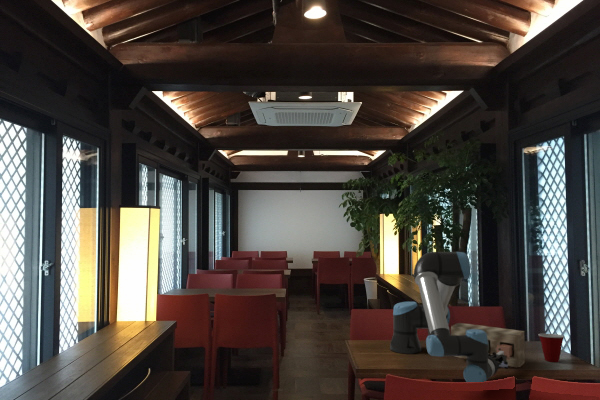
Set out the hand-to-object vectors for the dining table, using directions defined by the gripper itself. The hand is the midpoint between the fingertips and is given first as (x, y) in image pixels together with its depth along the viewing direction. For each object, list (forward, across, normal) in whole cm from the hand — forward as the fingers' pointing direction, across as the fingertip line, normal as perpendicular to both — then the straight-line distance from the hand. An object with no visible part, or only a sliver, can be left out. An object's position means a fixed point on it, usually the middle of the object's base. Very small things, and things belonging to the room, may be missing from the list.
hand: (502, 354), depth 200 cm
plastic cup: (+30, +14, -7) cm, 34 cm away
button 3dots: (+6, 0, -2) cm, 7 cm away
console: (+14, -10, -7) cm, 19 cm away
